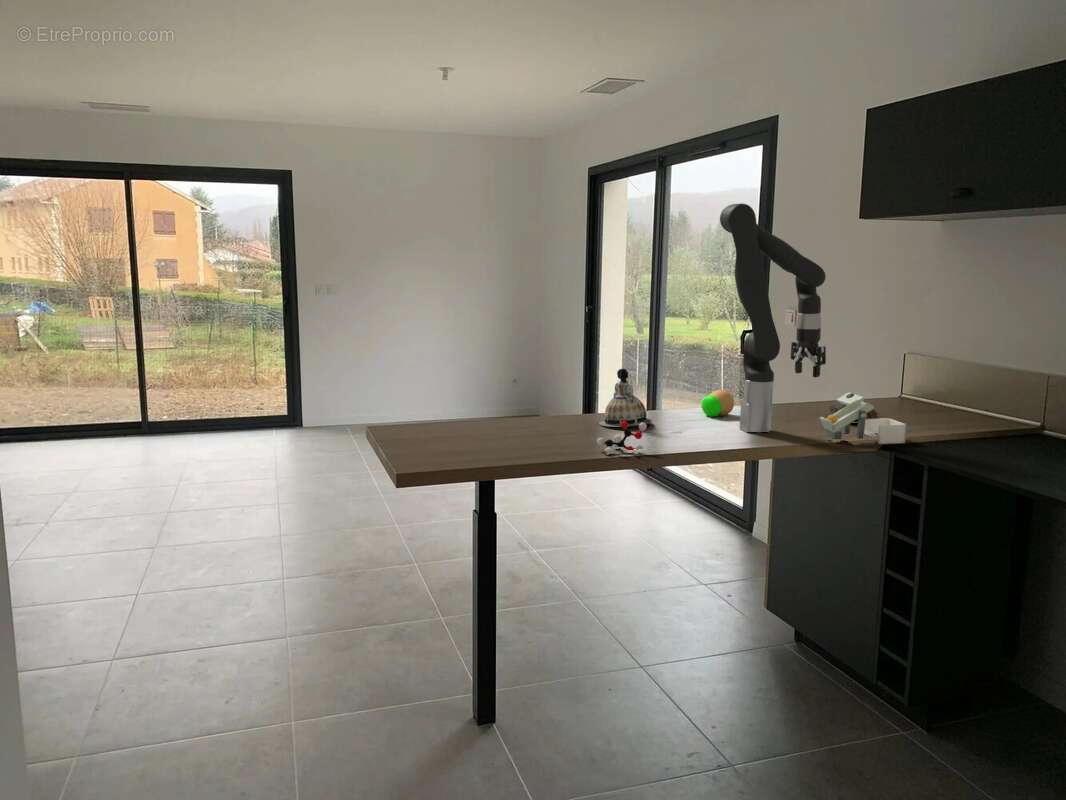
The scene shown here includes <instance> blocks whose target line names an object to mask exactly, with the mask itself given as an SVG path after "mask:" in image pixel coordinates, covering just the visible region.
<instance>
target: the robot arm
mask: <svg viewBox="0 0 1066 800" xmlns="http://www.w3.org/2000/svg"><path fill="white" fill-rule="evenodd" d="M719 222H720V226H721V227H722V228H723V229H724V230H725V231H726V232H728V233H730V234H731V235H732V239H733V242H734V246H735V264H734V279H735V286H736V290H737V295H738V298H739V301H740V304H741V305H742V307H743V309H744V311H745V312H746V315H747V317H748V318H749V321H750V323H751V324H750V325H751V328H752V332H750V333H749V334H748V335H747V336H746V338H745V340H744V343H743V352H742V353H743V357H742V358H743V359H742V360H743V361H742V362H743V363H742V367H743V368H742V369H743V371H744V372H743V373H744V387H743V388H744V389H743V400H742V401H741V402H740V413H739V414H740V415H739V416H740V418H739V429H740V430H742V431H744V432H745V433H747V432H768V433H770V432H771V426H772V414H773V413H772V412H773V410H772V409H773V398H774V396H773V395H774V380H775V378H774V377H775V373H774V370H773V369H772V368H771V366H770V362H771V361H773V360H775V359H776V358H777V357H778V356H779V353H780V350H781V343H780V339H779V335H778V333H777V328H776V325H775V322H774V318H773V315H772V309H771V302H770V297H769V293H768V286H767V281H766V276H765V275H766V274H765V272H764V267H763V260H762V256H761V253H762V254H763V255H765V256H766V257H767V258H768V259H770V260H771V261H772V262H774V264H776V265H777V266H778V267H779V268H781V269H782V270H784V271H785V272H787V273H790V274H792V275H794V276H795V279H794V281H795V288H796V294H797V298H798V301H797V303H798V304H797V318H796V338H795V339H796V341H793V342H791V347H790V360H791V361H792V360H793V361H794V370H795V371H794V372H795V374H802V372H803V360H804V358H807V359H809V361H811V363H812V365H813V366H812V377H813V378H819V377H820V376H821V366H824V365H826V363H827V357H826V355H827V354H826V353H827V352H826V351H827V350H826V349H827V348H826V345H822V346H819V342H820V341H821V335H822V334H821V330H822V316H821V315H822V314H821V310H822V299H821V297H820V295H819V294H818V292H817V288H819V287H820V286H822V285H823V284H825V281H826V272H825V270H824V269H823V268H822V267H821V265H819V264H817V263H816V262H815V261H813V260H811V259H809V258H807V257H805V256H804V255H802V253H800V252H799V251H798V250H796V249H795V248H794V247H793V246H791V245H790V244H789V243H788V242H787V241H785V240H783V239H781V238H779V237H778V236H777V235H775V234H772V233H770V232H769V231H767V230H766V229H764V228H763V227H761V226H760V225H759V224H758V223H757V217H756V214H755V211H754V209H753V208H752V206H750V205H749V204H746V203H733V204H729V205H727V206H726V207H725V206H724V208H722V210H721V212H720V215H719ZM769 431H770V432H769Z"/></svg>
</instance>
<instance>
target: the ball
mask: <svg viewBox="0 0 1066 800" xmlns="http://www.w3.org/2000/svg"><path fill="white" fill-rule="evenodd" d="M826 418H827V419H829V420H831V421H832V423H833V424H834V423H835V422H837V421H838V418H837V416H835V415H833V414H830V415H828V416H827V417H826Z"/></svg>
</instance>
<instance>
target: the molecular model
mask: <svg viewBox="0 0 1066 800" xmlns="http://www.w3.org/2000/svg"><path fill="white" fill-rule="evenodd" d="M628 427H629V426H628V423H627V422H626V421H623V422H621V429H624V432H623V438H622V437H621V435H619V434H616V435H614V436H613V440H612V439H606V441H605V438H604V437H598V438H597V440H596V442H597V445H599V446H603V445H605V446H606V448H605V449H604V452H605V451H607V452H609V451H612V452H613V449H612V448H611V447H613V448H614V447H621V448H624V449H625V450H626V449H627V450H633V449H637V450H638V449H643V450H644V447H643V446H642V445H640V444H639V445H637V446H636V447H633V446H631V445H628V446H627V445H625V441H626V440H627V438H628V437H631V436H633V437H634V438H635V439H636V440H640V439H642V438H643V431H644V430H646V429H647V427H648V425H647V424H645V423H640V425H638V428H639V431H636V432H635V433H634V432H632V430H630V429H629V428H628Z"/></svg>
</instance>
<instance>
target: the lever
mask: <svg viewBox="0 0 1066 800" xmlns="http://www.w3.org/2000/svg"><path fill="white" fill-rule="evenodd" d="M864 401H865V397H864V396H862V395H858V394H855V393H852V392H850V391H848V392H847V393H845V394H843V395H841V396H840V397H838V398H836V402H839V403H842V404H845V405H848V406H846V407H844V408H843V409H841V410H839V411H838V412H836V413H834V414H832V415H835V416H837V418H838V421H837V422H835V423H834V424H833V423H832V421H831V420H829V419H827V418H828V417H823V416H820V417H819V420H820V422H821V424H822V426H823V428H824V429H825V430H830V431H832V432H834V433H835V432H836V431H838V430H839V431H841V429H843V427H845V426H846V425H848V424H849V423H850V424H851V422H853V421H854V420H856V419H858V418H859V411H860V410H864V411H866V413H867V412H869V411H871V410H872V409H874V410H875V405H873V404H870V403H869V402H866V401H865V402H864ZM860 402H861V403H860Z"/></svg>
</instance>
